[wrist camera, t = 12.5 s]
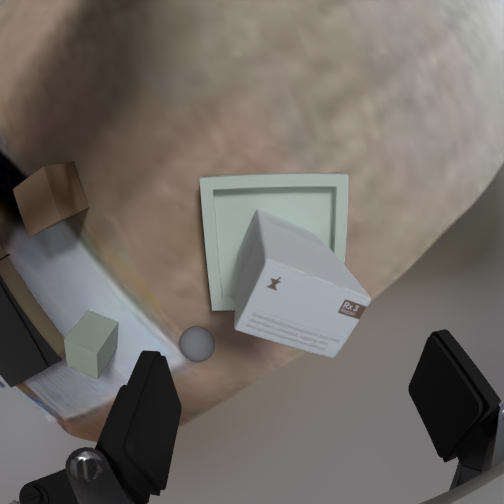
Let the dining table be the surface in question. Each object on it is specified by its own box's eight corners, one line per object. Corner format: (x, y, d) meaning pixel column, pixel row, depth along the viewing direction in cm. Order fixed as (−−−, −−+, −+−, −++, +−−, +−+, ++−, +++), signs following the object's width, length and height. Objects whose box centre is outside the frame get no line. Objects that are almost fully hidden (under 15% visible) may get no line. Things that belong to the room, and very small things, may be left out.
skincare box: (237, 251, 25) (224, 335, 14) (257, 204, 24) (259, 256, 12) (301, 276, 26) (331, 366, 15) (323, 231, 25) (375, 300, 13)
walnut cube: (43, 181, 24) (13, 189, 19) (74, 161, 23) (43, 166, 19) (57, 223, 26) (29, 237, 21) (89, 207, 25) (61, 219, 20)
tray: (203, 176, 24) (199, 178, 22) (341, 172, 24) (348, 174, 22) (214, 301, 28) (212, 310, 26) (335, 296, 28) (340, 305, 26)
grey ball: (180, 319, 29) (172, 340, 25) (214, 319, 29) (210, 340, 25) (186, 346, 30) (179, 367, 27) (218, 347, 30) (214, 369, 27)
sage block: (88, 309, 29) (63, 338, 23) (118, 321, 29) (96, 353, 24) (89, 335, 30) (67, 365, 25) (117, 347, 31) (97, 379, 25)
